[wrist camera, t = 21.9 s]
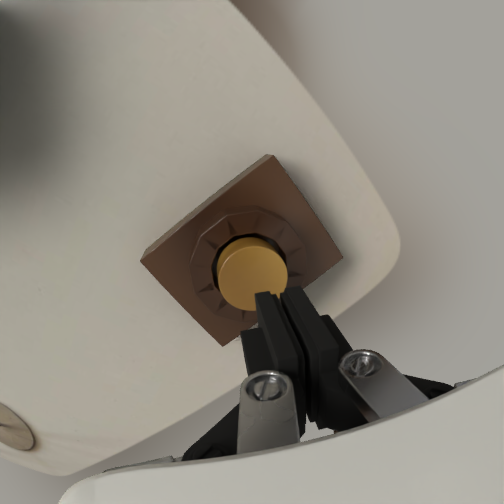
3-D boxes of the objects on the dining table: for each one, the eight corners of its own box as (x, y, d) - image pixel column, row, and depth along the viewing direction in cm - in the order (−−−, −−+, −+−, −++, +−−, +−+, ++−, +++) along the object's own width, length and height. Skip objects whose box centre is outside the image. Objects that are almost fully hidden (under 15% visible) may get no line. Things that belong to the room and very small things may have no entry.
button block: (266, 154, 20) (281, 155, 16) (331, 247, 23) (355, 267, 19) (145, 250, 21) (133, 272, 17) (220, 330, 23) (224, 363, 20)
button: (255, 223, 18) (261, 231, 16) (292, 271, 19) (300, 283, 17) (203, 264, 18) (203, 275, 16) (242, 308, 19) (246, 323, 17)
